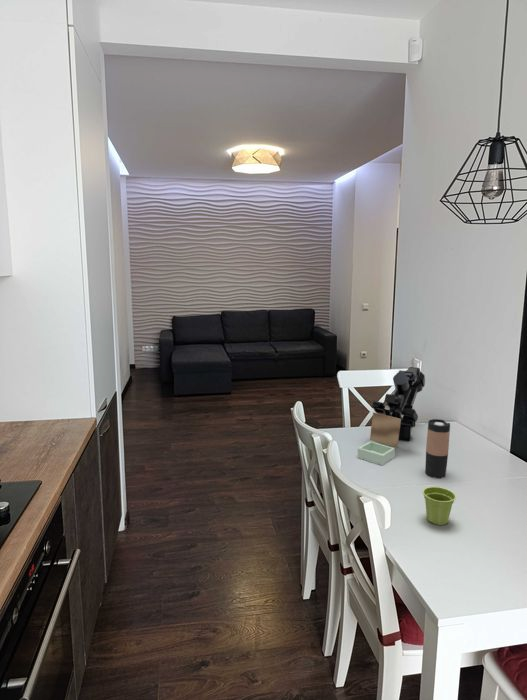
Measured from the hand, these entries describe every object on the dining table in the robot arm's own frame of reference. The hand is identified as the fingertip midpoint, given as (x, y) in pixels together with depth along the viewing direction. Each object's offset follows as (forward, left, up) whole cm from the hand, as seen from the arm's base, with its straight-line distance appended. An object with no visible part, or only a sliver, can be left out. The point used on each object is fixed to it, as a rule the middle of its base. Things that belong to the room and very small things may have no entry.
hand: (386, 428), depth 192 cm
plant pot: (-23, +46, -10) cm, 53 cm away
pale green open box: (+2, +7, -10) cm, 13 cm away
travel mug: (-20, +13, -10) cm, 26 cm away
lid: (+1, +2, 0) cm, 2 cm away
